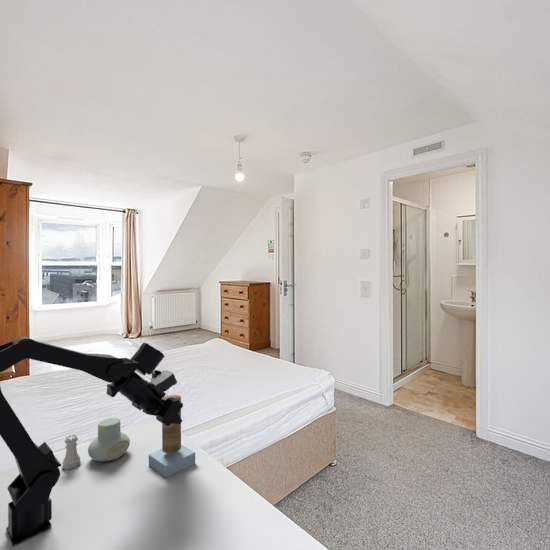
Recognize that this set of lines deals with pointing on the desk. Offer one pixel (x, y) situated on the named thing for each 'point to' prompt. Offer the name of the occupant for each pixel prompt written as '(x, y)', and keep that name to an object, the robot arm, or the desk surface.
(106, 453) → the air freshener
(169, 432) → the walnut pillar
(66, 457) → the rook chess piece
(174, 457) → the pale blue square tile
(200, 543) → the desk surface
